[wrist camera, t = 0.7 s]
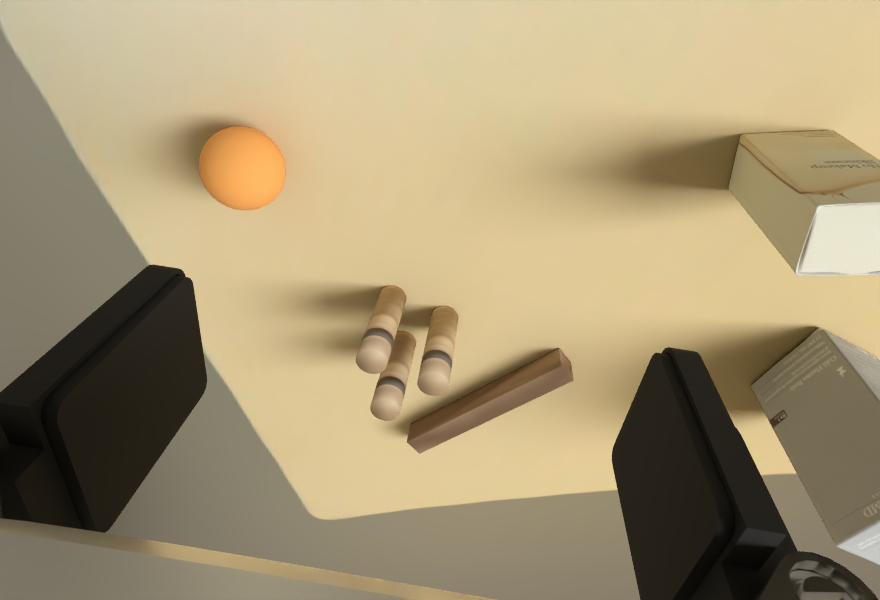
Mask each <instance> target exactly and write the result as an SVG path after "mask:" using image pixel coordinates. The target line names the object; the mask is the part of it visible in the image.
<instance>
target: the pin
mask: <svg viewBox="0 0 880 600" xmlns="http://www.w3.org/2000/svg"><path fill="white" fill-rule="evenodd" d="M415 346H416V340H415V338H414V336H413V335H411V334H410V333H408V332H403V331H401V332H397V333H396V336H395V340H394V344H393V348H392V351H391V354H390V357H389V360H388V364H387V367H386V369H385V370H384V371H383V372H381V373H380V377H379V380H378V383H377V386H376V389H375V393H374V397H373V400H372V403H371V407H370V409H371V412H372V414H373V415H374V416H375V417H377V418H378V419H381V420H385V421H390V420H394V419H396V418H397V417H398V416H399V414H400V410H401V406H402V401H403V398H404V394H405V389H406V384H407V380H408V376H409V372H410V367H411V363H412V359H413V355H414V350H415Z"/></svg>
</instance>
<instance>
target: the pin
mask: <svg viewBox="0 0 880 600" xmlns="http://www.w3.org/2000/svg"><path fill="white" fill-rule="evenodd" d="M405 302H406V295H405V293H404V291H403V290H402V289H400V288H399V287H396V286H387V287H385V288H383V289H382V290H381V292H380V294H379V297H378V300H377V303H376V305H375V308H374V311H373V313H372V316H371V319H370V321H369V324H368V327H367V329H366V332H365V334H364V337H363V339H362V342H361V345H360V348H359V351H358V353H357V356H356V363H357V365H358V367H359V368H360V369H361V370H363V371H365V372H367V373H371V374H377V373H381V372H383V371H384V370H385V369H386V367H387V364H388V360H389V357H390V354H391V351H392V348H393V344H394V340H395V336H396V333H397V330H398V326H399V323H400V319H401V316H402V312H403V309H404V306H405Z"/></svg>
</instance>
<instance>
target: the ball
mask: <svg viewBox="0 0 880 600" xmlns="http://www.w3.org/2000/svg"><path fill="white" fill-rule="evenodd" d="M199 172H200V176H201V179H202V182H203V184H204V186H205V188H206V189H207V191H208V192H209V193H210V194H211V195H212V197H214V198H215V199H216V200H217V201H219V202H220V203H222V204H223V205H225V206H228V207H230V208H233V209H237V210H254V209H258V208H261V207H263V206H265V205H267V204H269V203H270V202H271V201H273V200H274V199H275V198H276V197H277V195H278V194H279V193H280V191H281V189H282V187H283V184H284V181H285V175H286V168H285V162H284V159H283V156H282V154H281V152H280V150H279V148H278V147H277V145H276V144H275V143H274V142H273V141H272V140H271V139H270V138H269V137H268V136H266V135H265V134H263V133H262V132H260V131H258V130H255V129H252V128H249V127H241V126H236V127H229V128H225V129H223V130H221V131H219V132H217V133H215V134H214V135H213V136H212V137H210V138H209V139H208V141H207V142H206V143H205V145H204V147H203V148H202V151H201V154H200V158H199Z"/></svg>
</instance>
